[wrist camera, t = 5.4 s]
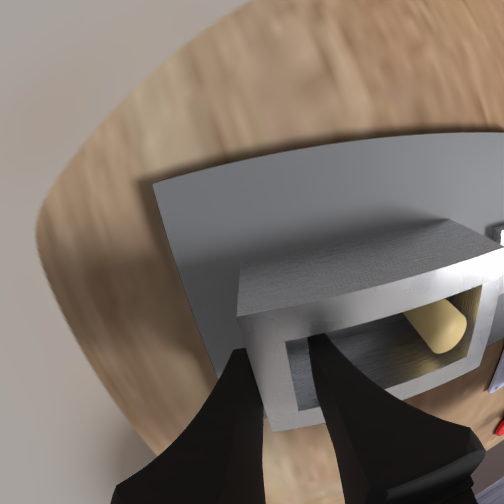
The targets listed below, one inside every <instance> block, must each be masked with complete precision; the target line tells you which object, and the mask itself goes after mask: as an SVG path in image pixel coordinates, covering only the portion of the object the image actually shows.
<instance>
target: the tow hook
mask: <svg viewBox="0 0 504 504" xmlns="http://www.w3.org/2000/svg"><path fill="white" fill-rule="evenodd" d="M496 434H497V435H498V436H501V435H503V434H504V420H503V421H502V422H501V423H500V425H499V426H498V428H497V429H496Z"/></svg>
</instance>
